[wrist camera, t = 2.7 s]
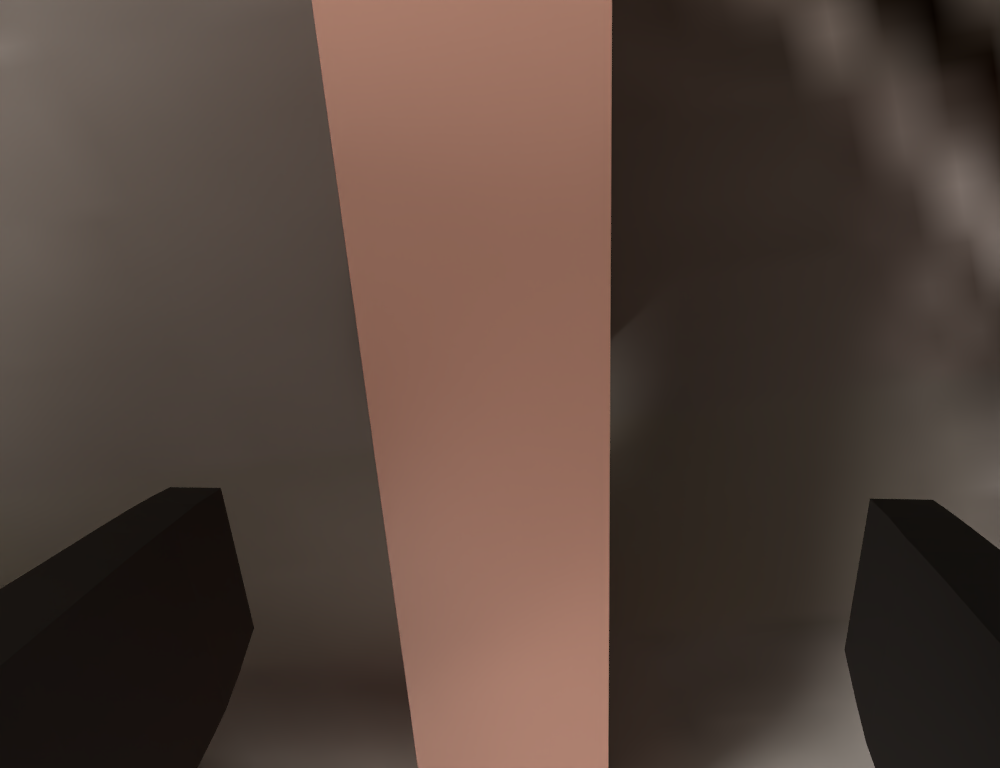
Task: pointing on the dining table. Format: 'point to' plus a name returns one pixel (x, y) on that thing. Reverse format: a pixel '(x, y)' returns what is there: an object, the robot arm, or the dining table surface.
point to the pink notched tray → (485, 355)
